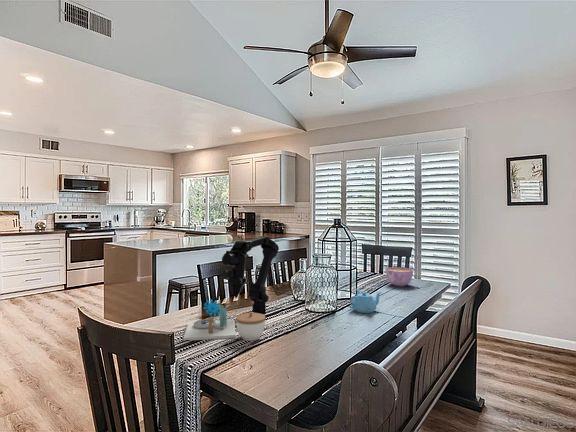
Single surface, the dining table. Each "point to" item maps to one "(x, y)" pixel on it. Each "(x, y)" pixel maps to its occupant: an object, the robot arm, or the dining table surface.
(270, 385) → the dining table surface
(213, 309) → the gear
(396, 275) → the bowl of food
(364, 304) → the teapot
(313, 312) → the dining table surface
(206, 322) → the flange plate
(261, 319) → the lidded bowl
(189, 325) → the clock board
